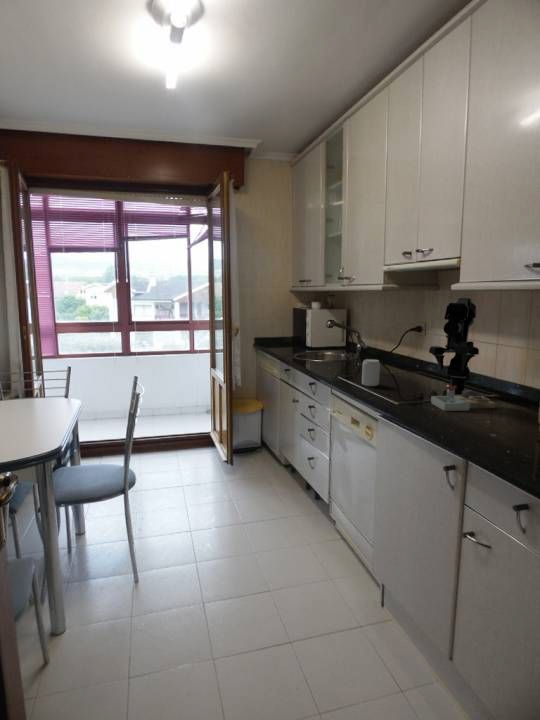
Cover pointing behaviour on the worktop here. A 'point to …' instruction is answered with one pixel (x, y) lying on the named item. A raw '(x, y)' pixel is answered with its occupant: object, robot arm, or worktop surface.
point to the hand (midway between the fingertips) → (452, 370)
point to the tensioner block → (476, 399)
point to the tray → (456, 406)
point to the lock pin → (450, 393)
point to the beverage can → (370, 372)
